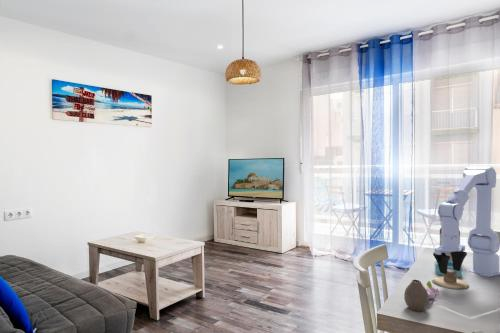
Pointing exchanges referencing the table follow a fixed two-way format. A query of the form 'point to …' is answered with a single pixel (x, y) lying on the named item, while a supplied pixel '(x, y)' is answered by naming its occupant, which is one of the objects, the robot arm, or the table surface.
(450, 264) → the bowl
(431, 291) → the rabbit figure
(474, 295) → the table surface
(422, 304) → the vase
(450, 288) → the mat
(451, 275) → the lid
